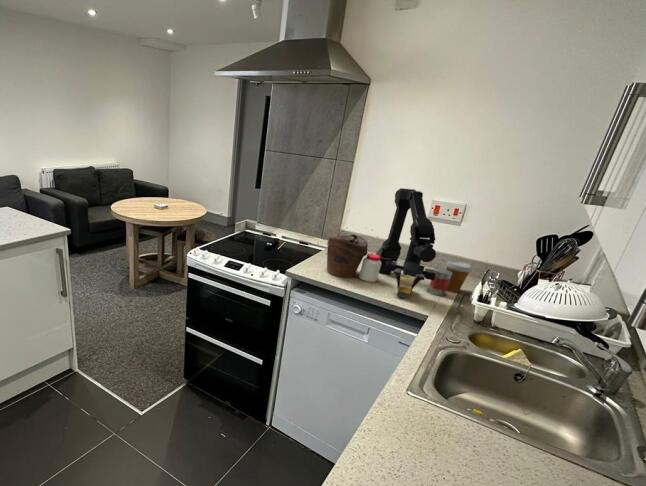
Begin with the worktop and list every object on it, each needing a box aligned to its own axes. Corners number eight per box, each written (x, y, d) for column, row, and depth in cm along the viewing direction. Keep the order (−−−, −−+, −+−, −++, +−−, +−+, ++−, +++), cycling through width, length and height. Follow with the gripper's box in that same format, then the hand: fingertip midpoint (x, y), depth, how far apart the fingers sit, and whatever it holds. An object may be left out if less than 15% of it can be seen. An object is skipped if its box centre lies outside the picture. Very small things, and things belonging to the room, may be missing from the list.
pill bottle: (377, 277, 180) (383, 255, 176) (376, 283, 173) (382, 259, 169) (359, 274, 183) (365, 251, 178) (358, 279, 176) (364, 256, 172)
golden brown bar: (396, 295, 160) (399, 285, 158) (398, 285, 171) (401, 276, 169) (408, 298, 158) (411, 288, 156) (409, 288, 169) (412, 278, 167)
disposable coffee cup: (460, 287, 177) (469, 262, 172) (465, 295, 168) (475, 269, 163) (437, 283, 179) (445, 258, 174) (441, 291, 171) (450, 265, 166)
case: (357, 267, 191) (365, 232, 184) (364, 282, 173) (374, 244, 165) (319, 262, 193) (327, 227, 186) (323, 277, 175) (331, 238, 168)
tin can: (427, 293, 167) (434, 271, 163) (427, 288, 173) (434, 267, 169) (445, 297, 165) (453, 275, 161) (444, 292, 170) (452, 270, 166)
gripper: (388, 253, 155) (378, 289, 161) (441, 264, 147) (428, 301, 153) (390, 247, 164) (381, 281, 170) (440, 257, 156) (428, 292, 163)
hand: (404, 289), depth 164 cm, fingers closed on golden brown bar, 4 cm apart
